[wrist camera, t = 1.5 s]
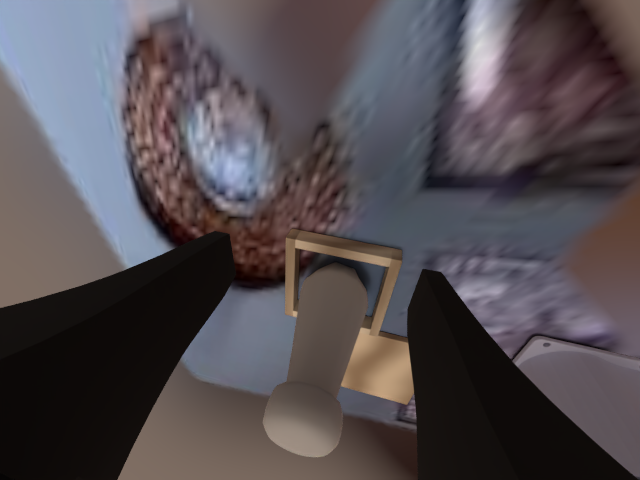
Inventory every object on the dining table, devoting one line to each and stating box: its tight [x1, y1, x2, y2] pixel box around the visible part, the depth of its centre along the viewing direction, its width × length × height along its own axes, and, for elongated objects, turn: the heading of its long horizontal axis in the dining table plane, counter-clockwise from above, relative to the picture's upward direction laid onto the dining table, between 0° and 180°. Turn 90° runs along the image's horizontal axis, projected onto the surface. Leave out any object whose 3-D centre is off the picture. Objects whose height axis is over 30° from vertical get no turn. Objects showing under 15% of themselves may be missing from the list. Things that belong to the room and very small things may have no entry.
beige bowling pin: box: [263, 262, 368, 457], centre depth 19 cm, size 6×6×13 cm
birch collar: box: [285, 229, 402, 337], centre depth 23 cm, size 9×9×2 cm
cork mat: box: [341, 331, 414, 405], centre depth 29 cm, size 11×11×1 cm
